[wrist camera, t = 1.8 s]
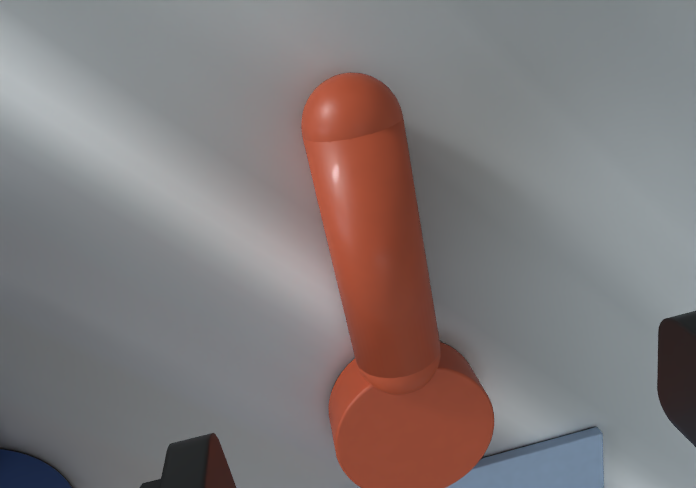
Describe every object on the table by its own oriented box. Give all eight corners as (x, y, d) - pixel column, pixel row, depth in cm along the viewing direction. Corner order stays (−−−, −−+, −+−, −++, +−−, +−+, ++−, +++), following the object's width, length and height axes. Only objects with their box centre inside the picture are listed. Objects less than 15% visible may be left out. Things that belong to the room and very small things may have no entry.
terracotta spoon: (239, 90, 15) (236, 107, 13) (429, 46, 16) (460, 54, 13) (345, 476, 21) (356, 536, 19) (483, 438, 21) (511, 493, 19)
